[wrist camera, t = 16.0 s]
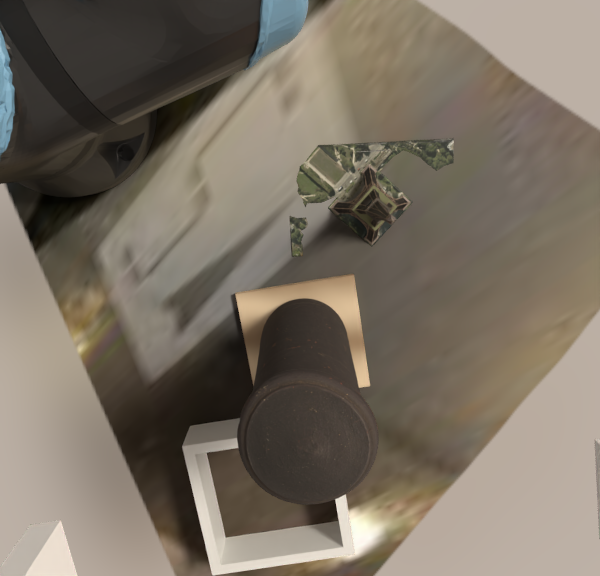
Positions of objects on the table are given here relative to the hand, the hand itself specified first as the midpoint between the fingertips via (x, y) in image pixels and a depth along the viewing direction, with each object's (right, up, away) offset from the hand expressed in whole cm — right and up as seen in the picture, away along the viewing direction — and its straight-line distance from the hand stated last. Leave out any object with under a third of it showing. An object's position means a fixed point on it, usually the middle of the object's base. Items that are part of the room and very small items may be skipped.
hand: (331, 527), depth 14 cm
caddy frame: (-4, -13, +43) cm, 45 cm away
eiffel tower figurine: (+6, +14, +37) cm, 40 cm away
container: (0, +1, +39) cm, 39 cm away
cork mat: (0, +1, +39) cm, 40 cm away
